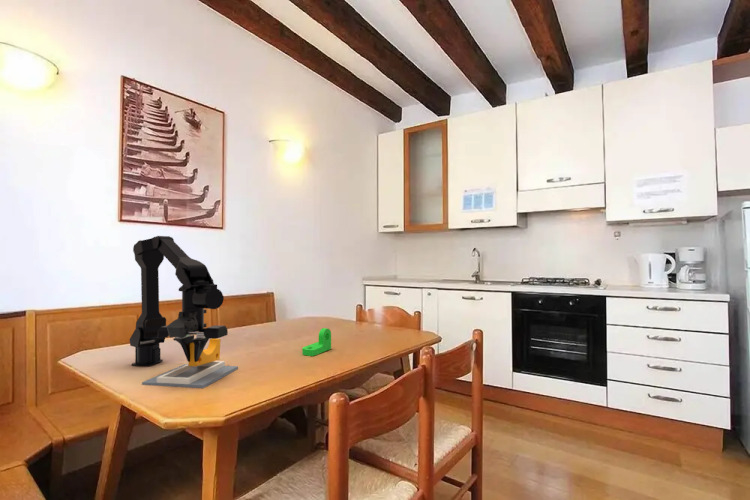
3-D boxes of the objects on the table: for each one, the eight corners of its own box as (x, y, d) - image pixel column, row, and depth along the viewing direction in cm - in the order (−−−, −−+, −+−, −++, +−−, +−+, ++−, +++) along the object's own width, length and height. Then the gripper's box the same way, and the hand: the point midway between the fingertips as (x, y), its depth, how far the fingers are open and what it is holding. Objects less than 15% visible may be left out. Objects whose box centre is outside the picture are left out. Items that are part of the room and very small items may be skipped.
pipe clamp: (207, 359, 124) (208, 338, 125) (219, 359, 124) (220, 338, 124) (182, 365, 112) (184, 342, 113) (196, 366, 112) (197, 343, 113)
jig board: (141, 385, 105) (142, 377, 105) (184, 366, 123) (184, 359, 123) (203, 388, 102) (203, 379, 102) (237, 368, 120) (237, 361, 120)
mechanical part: (317, 347, 149) (317, 326, 149) (331, 348, 146) (331, 327, 147) (298, 354, 138) (298, 331, 138) (313, 356, 136) (312, 333, 136)
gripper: (143, 310, 106) (143, 368, 106) (206, 311, 103) (206, 370, 103) (171, 305, 117) (171, 357, 117) (228, 306, 114) (228, 359, 114)
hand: (192, 361), depth 112 cm, fingers closed on pipe clamp, 2 cm apart
